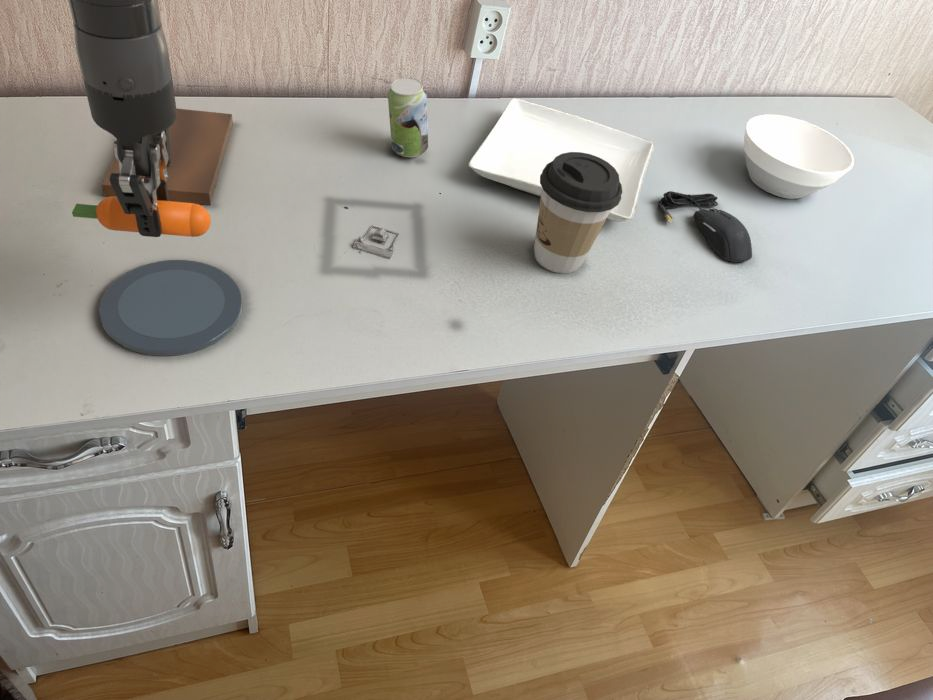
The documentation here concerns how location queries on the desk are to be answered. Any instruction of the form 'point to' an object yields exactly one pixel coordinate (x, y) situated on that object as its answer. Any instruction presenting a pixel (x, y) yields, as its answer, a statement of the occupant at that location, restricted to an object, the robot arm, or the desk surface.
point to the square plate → (559, 150)
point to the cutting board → (191, 156)
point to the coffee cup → (573, 208)
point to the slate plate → (170, 307)
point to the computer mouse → (713, 225)
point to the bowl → (793, 156)
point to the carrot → (172, 214)
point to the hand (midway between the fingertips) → (155, 222)
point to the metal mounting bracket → (380, 238)
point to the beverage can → (408, 117)
